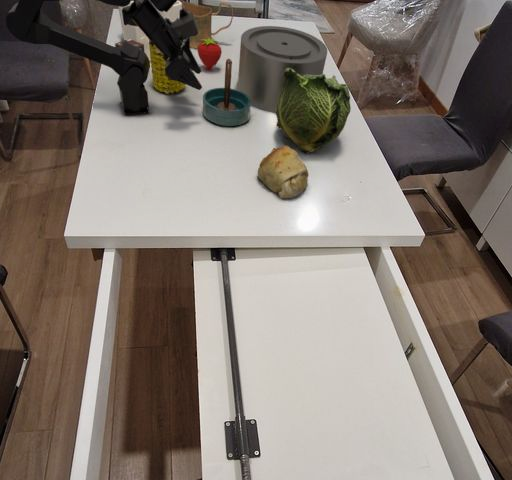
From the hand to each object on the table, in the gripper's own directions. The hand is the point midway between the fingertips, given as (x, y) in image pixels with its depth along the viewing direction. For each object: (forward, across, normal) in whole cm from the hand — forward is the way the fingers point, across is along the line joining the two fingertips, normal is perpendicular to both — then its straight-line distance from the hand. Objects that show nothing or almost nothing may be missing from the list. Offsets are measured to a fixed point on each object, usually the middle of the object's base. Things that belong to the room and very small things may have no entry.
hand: (200, 80), depth 111 cm
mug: (+8, +49, +4) cm, 50 cm away
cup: (0, +35, +13) cm, 37 cm away
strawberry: (+9, +28, +4) cm, 30 cm away
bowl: (+11, 0, +1) cm, 11 cm away
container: (+23, +16, -11) cm, 30 cm away
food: (0, +15, +13) cm, 19 cm away
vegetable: (+26, -11, -14) cm, 32 cm away
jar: (-7, +34, +19) cm, 39 cm away
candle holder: (-8, +46, +21) cm, 51 cm away
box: (-8, +23, +20) cm, 32 cm away
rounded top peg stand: (+11, 0, 0) cm, 11 cm away
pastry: (+20, -31, -8) cm, 38 cm away
